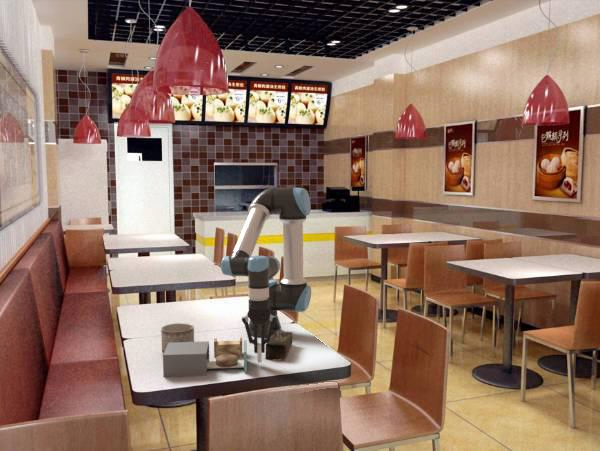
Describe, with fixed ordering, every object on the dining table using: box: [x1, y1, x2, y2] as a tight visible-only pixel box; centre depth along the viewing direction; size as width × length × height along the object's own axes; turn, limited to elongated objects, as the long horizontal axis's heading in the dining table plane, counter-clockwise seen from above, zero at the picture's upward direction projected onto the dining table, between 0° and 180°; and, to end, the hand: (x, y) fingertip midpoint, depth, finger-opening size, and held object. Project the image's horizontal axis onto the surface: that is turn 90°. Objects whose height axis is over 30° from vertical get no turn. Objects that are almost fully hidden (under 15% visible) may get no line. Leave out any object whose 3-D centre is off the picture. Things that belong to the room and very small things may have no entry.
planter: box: [160, 322, 195, 354], centre depth 225 cm, size 13×13×10 cm
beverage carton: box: [265, 330, 293, 361], centre depth 225 cm, size 8×19×7 cm, turn 172°
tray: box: [207, 339, 248, 373], centre depth 208 cm, size 15×14×7 cm
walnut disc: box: [215, 354, 239, 367], centre depth 208 cm, size 8×8×2 cm
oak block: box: [213, 337, 243, 358], centre depth 222 cm, size 11×5×6 cm, turn 95°
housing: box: [162, 340, 210, 378], centre depth 207 cm, size 15×15×8 cm
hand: (259, 361), depth 209 cm, fingers closed
